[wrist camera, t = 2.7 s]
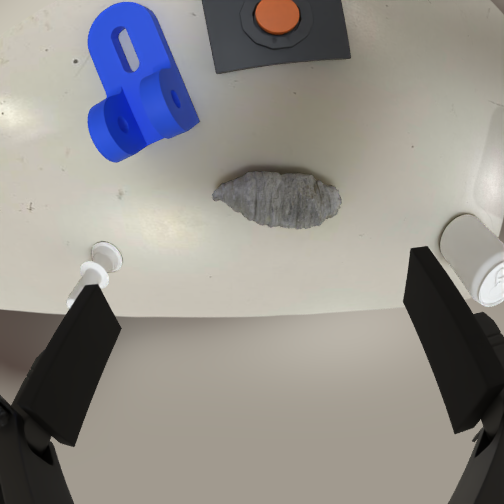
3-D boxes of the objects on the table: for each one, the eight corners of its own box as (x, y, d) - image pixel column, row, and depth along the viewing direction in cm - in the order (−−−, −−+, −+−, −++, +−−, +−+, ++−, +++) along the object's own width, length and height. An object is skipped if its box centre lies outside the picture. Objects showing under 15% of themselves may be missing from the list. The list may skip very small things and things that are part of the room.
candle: (127, 253, 44) (94, 307, 34) (116, 276, 46) (85, 331, 36) (97, 235, 42) (57, 285, 32) (88, 260, 45) (51, 310, 35)
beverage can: (436, 263, 43) (470, 316, 33) (439, 217, 39) (482, 265, 29) (476, 253, 41) (514, 300, 31) (482, 208, 37) (528, 251, 27)
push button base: (330, -19, 24) (339, -30, 20) (344, 59, 29) (355, 57, 25) (204, -5, 26) (196, -14, 22) (219, 73, 31) (213, 73, 27)
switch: (293, -3, 23) (295, -7, 21) (300, 32, 25) (302, 30, 23) (252, 1, 23) (252, -3, 22) (259, 37, 25) (259, 35, 24)
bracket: (199, 121, 34) (180, 137, 26) (138, 148, 36) (107, 170, 28) (146, -7, 25) (113, -25, 17) (87, 27, 27) (45, 22, 19)
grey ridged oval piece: (210, 163, 34) (231, 204, 28) (318, 157, 38) (353, 192, 33) (209, 209, 38) (227, 255, 33) (308, 198, 42) (338, 237, 37)
